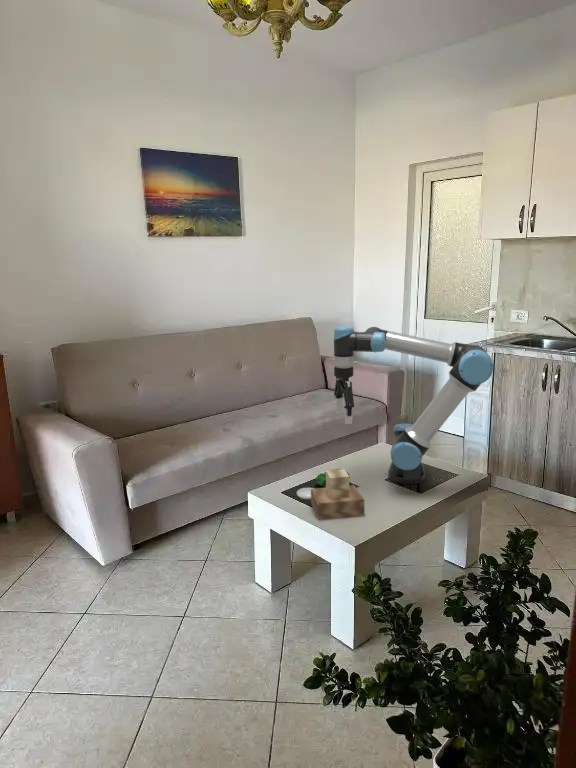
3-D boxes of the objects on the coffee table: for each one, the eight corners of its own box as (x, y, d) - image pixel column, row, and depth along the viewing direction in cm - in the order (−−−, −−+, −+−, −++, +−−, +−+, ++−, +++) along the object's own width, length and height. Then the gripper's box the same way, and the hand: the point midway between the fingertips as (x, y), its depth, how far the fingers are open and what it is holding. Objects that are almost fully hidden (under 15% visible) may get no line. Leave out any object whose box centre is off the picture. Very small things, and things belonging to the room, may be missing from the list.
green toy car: (311, 485, 218) (311, 474, 217) (342, 477, 226) (342, 465, 224) (321, 492, 212) (321, 480, 211) (352, 483, 220) (352, 471, 218)
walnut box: (354, 499, 204) (354, 484, 203) (364, 515, 192) (364, 499, 190) (311, 503, 202) (310, 488, 200) (318, 519, 189) (318, 503, 188)
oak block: (344, 489, 199) (344, 469, 197) (349, 497, 192) (349, 476, 190) (325, 490, 198) (325, 470, 196) (330, 498, 191) (330, 478, 189)
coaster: (316, 488, 215) (316, 486, 215) (321, 498, 206) (321, 496, 206) (295, 490, 213) (294, 488, 213) (298, 500, 205) (298, 498, 205)
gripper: (326, 361, 217) (327, 410, 222) (343, 373, 193) (343, 428, 198) (344, 360, 219) (344, 409, 223) (362, 372, 195) (362, 427, 199)
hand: (343, 418), depth 211 cm, fingers open, 13 cm apart
